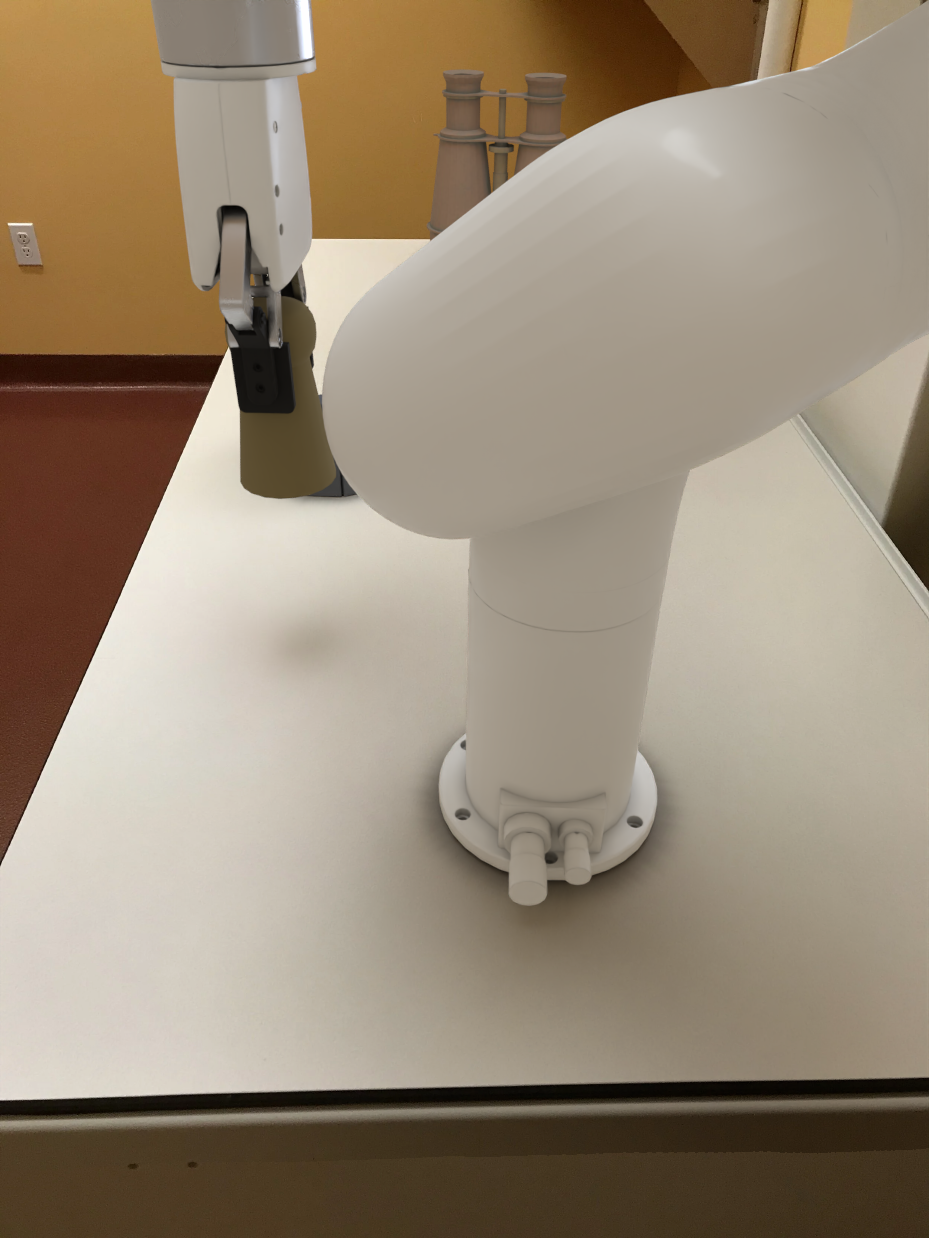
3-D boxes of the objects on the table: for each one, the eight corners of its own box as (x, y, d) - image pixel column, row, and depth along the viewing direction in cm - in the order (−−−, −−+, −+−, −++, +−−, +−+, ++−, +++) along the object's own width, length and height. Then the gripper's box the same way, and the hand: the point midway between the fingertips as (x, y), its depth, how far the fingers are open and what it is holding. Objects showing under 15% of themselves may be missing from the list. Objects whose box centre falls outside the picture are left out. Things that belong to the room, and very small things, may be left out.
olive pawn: (244, 504, 58) (216, 323, 51) (236, 460, 62) (209, 290, 56) (344, 491, 59) (329, 313, 53) (328, 449, 64) (312, 281, 57)
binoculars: (419, 278, 134) (415, 75, 120) (437, 258, 142) (435, 65, 127) (565, 290, 131) (579, 83, 116) (575, 269, 139) (590, 72, 124)
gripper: (206, 22, 54) (248, 339, 64) (98, 56, 40) (175, 453, 51) (339, 22, 53) (359, 341, 64) (277, 57, 40) (317, 456, 50)
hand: (278, 387), depth 57 cm, fingers closed on olive pawn, 5 cm apart
